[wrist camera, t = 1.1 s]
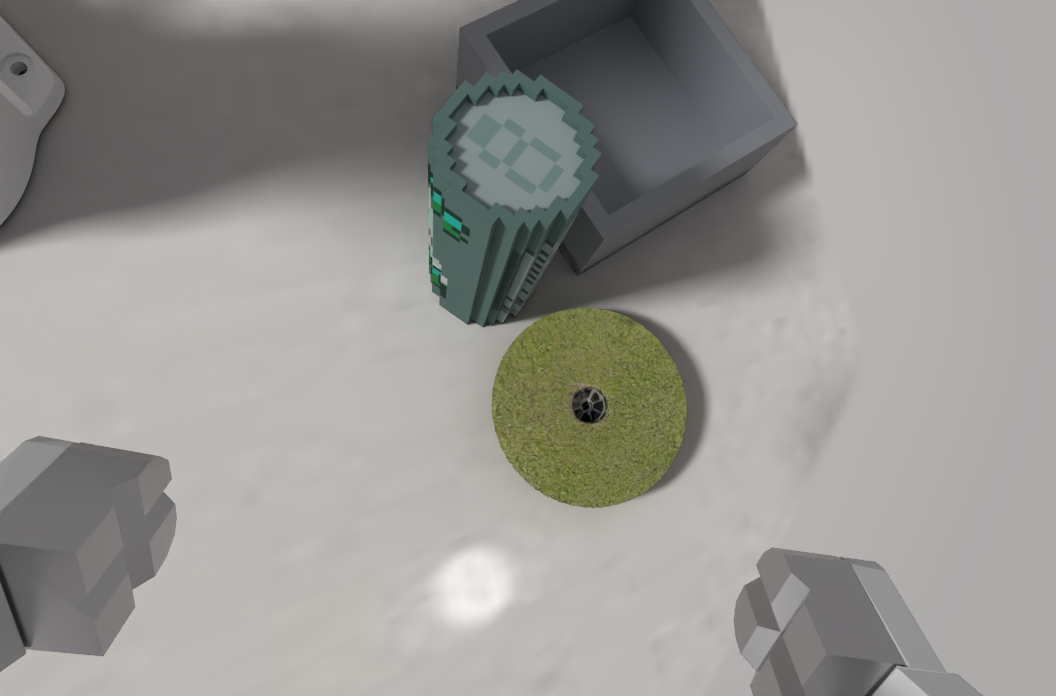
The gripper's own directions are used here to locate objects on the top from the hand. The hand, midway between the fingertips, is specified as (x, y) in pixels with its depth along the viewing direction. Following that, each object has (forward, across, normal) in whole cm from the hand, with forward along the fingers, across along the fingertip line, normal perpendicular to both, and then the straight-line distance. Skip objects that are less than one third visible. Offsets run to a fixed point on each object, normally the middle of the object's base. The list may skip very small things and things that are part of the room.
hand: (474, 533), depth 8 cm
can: (+28, 0, +9) cm, 30 cm away
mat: (+24, -7, +14) cm, 28 cm away
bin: (+36, -6, +1) cm, 36 cm away
